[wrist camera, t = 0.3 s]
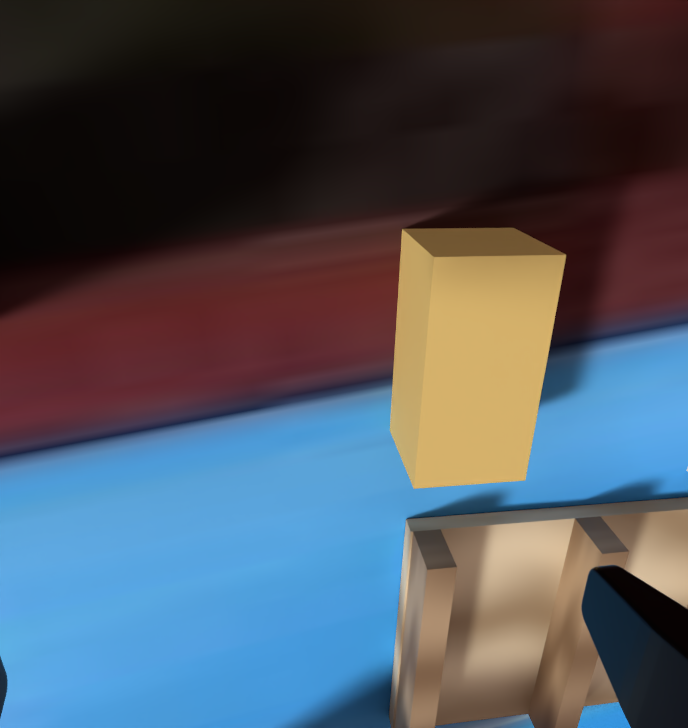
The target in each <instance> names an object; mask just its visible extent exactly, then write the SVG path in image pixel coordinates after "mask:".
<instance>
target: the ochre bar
mask: <svg viewBox="0 0 688 728" xmlns="http://www.w3.org/2000/svg"><path fill="white" fill-rule="evenodd" d="M565 260H566V254H564V253H562V252H560V251H558V250H556V249H554V248H552V247H550V246H548V245H546V244H544V243H542V242H540V241H538V240H536V239H535V238H533V237H531V236H529V235H527V234H525V233H523V232H521V231H519V230H517V229H515V228H432V229H402V242H401V258H400V274H399V290H398V307H397V323H396V339H395V356H394V372H393V388H392V404H391V421H390V432H391V434H392V437H393V439H394V442H395V444H396V446H397V449H398V451H399V454H400V456H401V459H402V461H403V463H404V466H405V468H406V471H407V473H408V475H409V478H410V480H411V483H412V485H413V488H414V489H416V488H429V487H443V486H456V485H470V484H483V483H497V482H510V481H524V480H525V478H526V473H527V468H528V462H529V457H530V451H531V446H532V440H533V435H534V429H535V424H536V418H537V413H538V407H539V402H540V397H541V391H542V386H543V380H544V375H545V369H546V364H547V358H548V353H549V347H550V342H551V336H552V331H553V325H554V320H555V315H556V309H557V304H558V298H559V293H560V287H561V282H562V276H563V271H564V265H565Z"/></svg>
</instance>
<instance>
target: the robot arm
mask: <svg viewBox="0 0 688 728" xmlns="http://www.w3.org/2000/svg"><path fill="white" fill-rule="evenodd" d="M581 610H582V615H583V619H584V621H585V624H586V626H587V629H588V631H589V633H590V636H591V638H592V640H593V643H594V645H595V647H596V650H597V652H598V654H599V657H600V659H601V662H602V664H603V666H604V669H605V671H606V673H607V676H608V678H609V680H610V683H611V685H612V687H613V690H614V692H615V694H616V697H617V699H618V701H619V704H620V706H621V708H622V710H623V712H624V715H625V717H626V718H627V720H628V722H629V724H630V726H631V728H688V609H687V608H686V607H684V606H683V605H681V604H679V603H678V602H676V601H675V600H673V599H671V598H670V597H668V596H667V595H665V594H663V593H662V592H660V591H659V590H657V589H655V588H654V587H652V586H650V585H649V584H647V583H646V582H644V581H642V580H641V579H639V578H638V577H636V576H634V575H633V574H631V573H630V572H628V571H626V570H625V569H623V568H621V567H620V566H617V565H606V566H597V567H593V568H592V569H591V570H590V571H589V573H588V577H587V582H586V586H585V590H584V595H583V599H582V605H581ZM6 692H7V675H6V671H5V669H4V666H3V663H2V660H1V657H0V717H1V713H2V709H3V705H4V701H5V697H6Z"/></svg>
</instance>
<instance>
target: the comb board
mask: <svg viewBox="0 0 688 728" xmlns="http://www.w3.org/2000/svg"><path fill="white" fill-rule="evenodd" d="M606 565H617V566H620V567H621V568H623V569H625V570H626V571H628V572H630V573H631V574H633V575H634V576H636V577H638V578H639V579H641V580H642V581H644V582H646V583H647V584H649V585H650V586H652V587H654V588H655V589H657V590H659V591H660V592H662V593H663V594H665V595H667V596H668V597H670V598H671V599H673V600H675V601H676V602H678V603H679V604H681V605H683V606H684V607H686V608H687V609H688V497H685V498H672V499H659V500H646V501H633V502H621V503H608V504H595V505H582V506H569V507H556V508H543V509H531V510H518V511H505V512H492V513H479V514H466V515H453V516H441V517H428V518H415V519H406V526H405V538H404V549H403V561H402V572H401V584H400V595H399V606H398V618H397V629H396V641H395V652H394V664H393V675H392V686H391V698H390V709H389V719H390V724H391V728H435V726H437V725H445V724H452V723H460V722H468V721H475V720H483V719H490V718H498V717H506V716H513V715H521V714H529V716H530V719H531V721H532V723H533V725H534V727H535V728H577V727H578V723H579V720H580V716H581V713H582V710H583V706H590V705H598V704H605V703H613V702H619V701H618V699H617V697H616V694H615V692H614V690H613V687H612V685H611V683H610V680H609V678H608V676H607V673H606V671H605V669H604V666H603V664H602V662H601V659H600V657H599V654H598V652H597V650H596V647H595V645H594V643H593V640H592V638H591V636H590V633H589V631H588V629H587V626H586V624H585V621H584V619H583V615H582V610H581V605H582V599H583V595H584V590H585V586H586V582H587V577H588V573H589V571H590V570H591V569H592V568H593V567H597V566H606Z"/></svg>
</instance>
